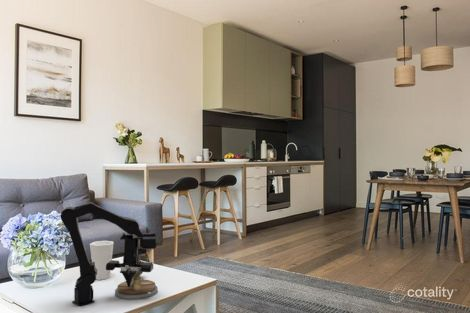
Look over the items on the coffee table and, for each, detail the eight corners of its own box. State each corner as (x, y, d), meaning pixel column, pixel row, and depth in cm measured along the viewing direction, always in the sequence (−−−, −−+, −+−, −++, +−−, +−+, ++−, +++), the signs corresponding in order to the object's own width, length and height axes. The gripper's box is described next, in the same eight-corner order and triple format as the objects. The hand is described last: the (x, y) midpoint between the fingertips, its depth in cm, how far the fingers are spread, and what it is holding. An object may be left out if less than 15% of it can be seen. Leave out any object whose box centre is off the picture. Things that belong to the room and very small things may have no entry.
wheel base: (132, 303, 163) (132, 298, 163) (106, 293, 174) (106, 289, 174) (166, 291, 177) (166, 287, 177) (140, 283, 188) (140, 279, 188)
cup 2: (140, 281, 192) (140, 264, 192) (125, 280, 194) (125, 263, 194) (146, 276, 200) (146, 260, 200) (132, 275, 201) (132, 259, 201)
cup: (108, 281, 192) (108, 245, 192) (87, 281, 192) (87, 245, 192) (115, 274, 203) (115, 240, 203) (95, 274, 203) (95, 240, 203)
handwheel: (117, 284, 181) (117, 271, 181) (153, 281, 186) (153, 268, 186) (117, 296, 166) (117, 281, 166) (156, 292, 170) (156, 278, 170)
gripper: (157, 246, 177) (155, 282, 177) (115, 244, 178) (113, 279, 178) (150, 252, 166) (149, 290, 166) (106, 250, 167) (104, 287, 167)
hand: (128, 286), depth 170 cm, fingers closed
